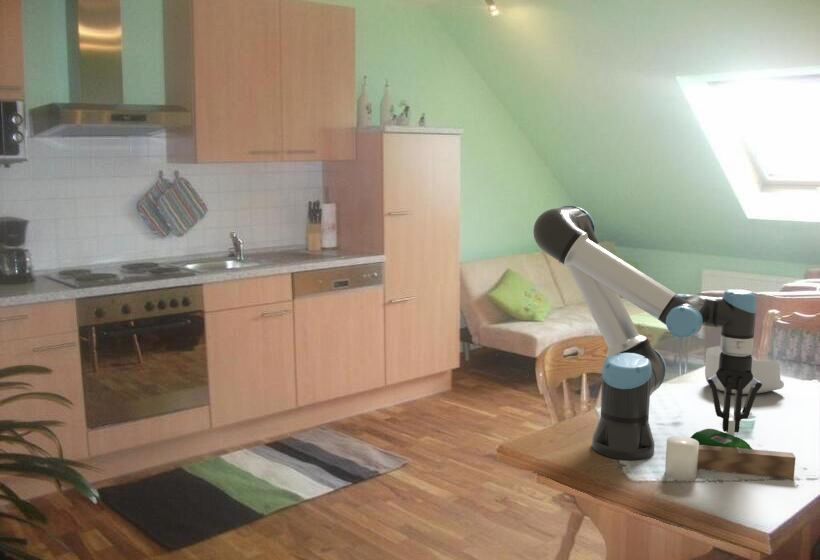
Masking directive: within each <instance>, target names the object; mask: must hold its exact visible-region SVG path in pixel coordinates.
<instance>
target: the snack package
mask: <svg viewBox="0 0 820 560" xmlns="http://www.w3.org/2000/svg"><path fill="white" fill-rule="evenodd" d="M689 438H693V439H695V440H697V441H698V442H699V445H708V446H719V447H731V448H736V447H738V448H742V449H753V448H752V447H751V445H750V444H749V443H748V442H747V441H746V440H744V439H743V438H740V437H738V436H735V435H734V436H732V435H730V434H727V433H726V432H724V431H721V430H718V429H714V428H704V429H701V430H699V431H696V432H694V433H693V434H692V435H691V436H690V437H689Z"/></svg>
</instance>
